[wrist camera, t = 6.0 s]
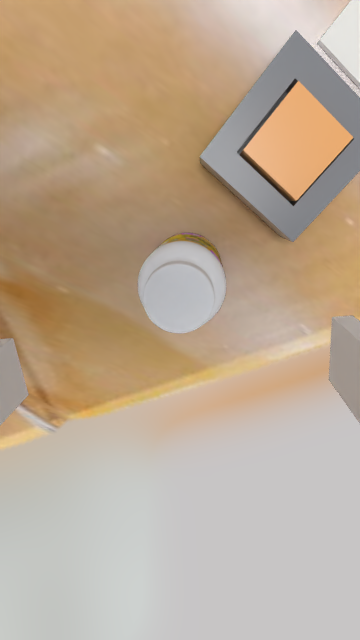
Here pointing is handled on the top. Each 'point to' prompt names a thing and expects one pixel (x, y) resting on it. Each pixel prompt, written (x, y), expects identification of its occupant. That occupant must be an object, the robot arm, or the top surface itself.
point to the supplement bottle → (182, 283)
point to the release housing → (251, 115)
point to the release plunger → (296, 143)
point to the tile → (345, 41)
